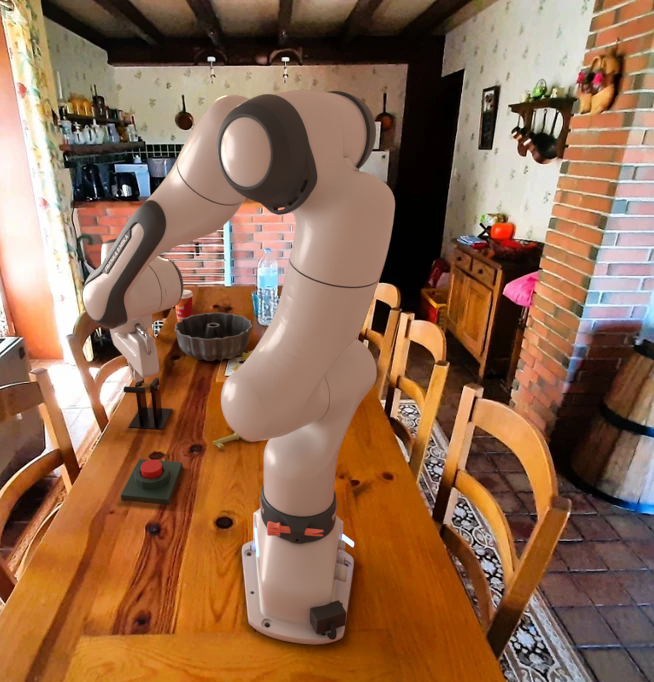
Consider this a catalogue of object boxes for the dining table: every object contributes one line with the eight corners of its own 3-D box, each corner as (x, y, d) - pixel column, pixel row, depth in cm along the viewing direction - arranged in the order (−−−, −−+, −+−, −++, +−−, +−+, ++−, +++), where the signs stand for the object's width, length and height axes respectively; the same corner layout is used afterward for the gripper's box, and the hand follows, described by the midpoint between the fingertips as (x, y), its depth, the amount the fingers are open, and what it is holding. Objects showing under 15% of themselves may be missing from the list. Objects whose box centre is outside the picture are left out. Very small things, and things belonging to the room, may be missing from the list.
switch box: (169, 508, 96) (167, 492, 95) (121, 503, 98) (119, 487, 97) (182, 470, 107) (181, 455, 106) (139, 467, 109) (138, 452, 108)
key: (211, 449, 114) (211, 441, 113) (240, 425, 123) (240, 418, 122) (236, 459, 110) (236, 452, 109) (265, 434, 119) (265, 427, 118)
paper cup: (172, 325, 193) (169, 291, 187) (190, 321, 196) (188, 288, 190) (180, 331, 186) (177, 296, 181) (198, 327, 189) (196, 292, 184)
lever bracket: (162, 433, 121) (158, 391, 117) (128, 430, 123) (123, 389, 119) (172, 412, 130) (169, 373, 126) (140, 410, 132) (136, 372, 128)
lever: (143, 395, 112) (143, 385, 112) (123, 394, 113) (123, 384, 113) (158, 392, 124) (158, 383, 124) (139, 391, 125) (140, 382, 125)
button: (159, 480, 99) (158, 473, 98) (138, 478, 100) (137, 471, 99) (165, 467, 103) (164, 460, 102) (145, 465, 104) (144, 458, 103)
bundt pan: (223, 331, 183) (222, 306, 179) (269, 353, 163) (269, 325, 159) (162, 349, 170) (160, 323, 167) (204, 375, 150) (202, 346, 146)
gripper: (164, 330, 89) (169, 395, 95) (129, 301, 106) (136, 358, 112) (131, 337, 87) (139, 404, 92) (101, 306, 104) (109, 364, 109)
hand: (137, 378), depth 102 cm, fingers closed
